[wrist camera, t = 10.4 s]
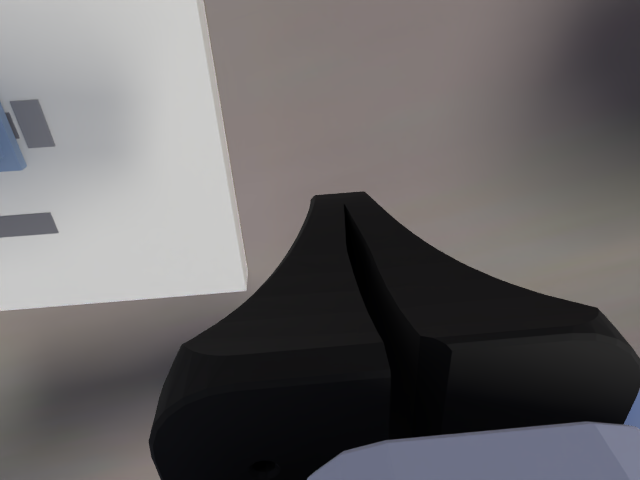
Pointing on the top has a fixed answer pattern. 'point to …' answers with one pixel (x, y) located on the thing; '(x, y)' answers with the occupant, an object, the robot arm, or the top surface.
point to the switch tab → (9, 147)
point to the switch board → (114, 155)
